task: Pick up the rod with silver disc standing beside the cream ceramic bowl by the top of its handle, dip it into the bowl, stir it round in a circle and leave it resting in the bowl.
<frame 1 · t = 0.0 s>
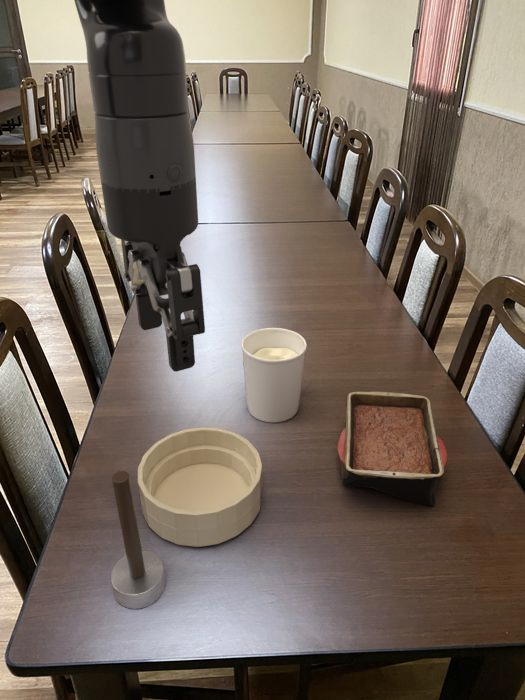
hand: (165, 346, 51), 26 cm above the table, tool pointing down, fingers open, 8 cm apart
white cup: (272, 408, 87), on the table
bowl: (202, 500, 70), on the table
baking dish: (387, 470, 75), on the table
rod with silver disc: (139, 585, 59), on the table
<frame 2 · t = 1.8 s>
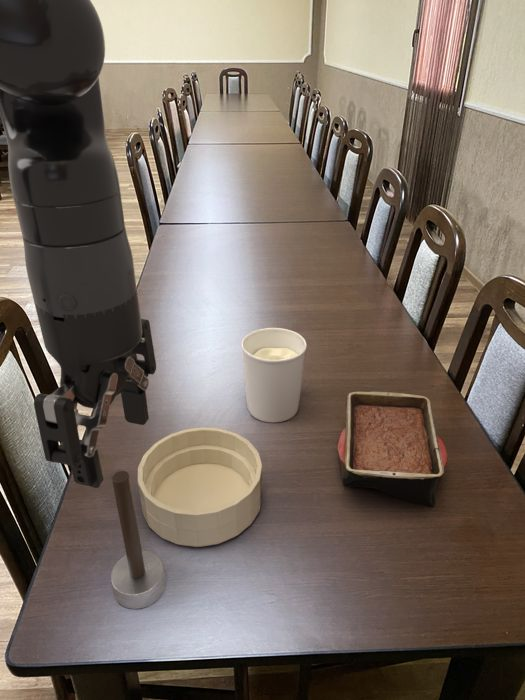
hand: (115, 450, 49), 20 cm above the table, tool pointing down, fingers open, 8 cm apart
nothing on the table moved.
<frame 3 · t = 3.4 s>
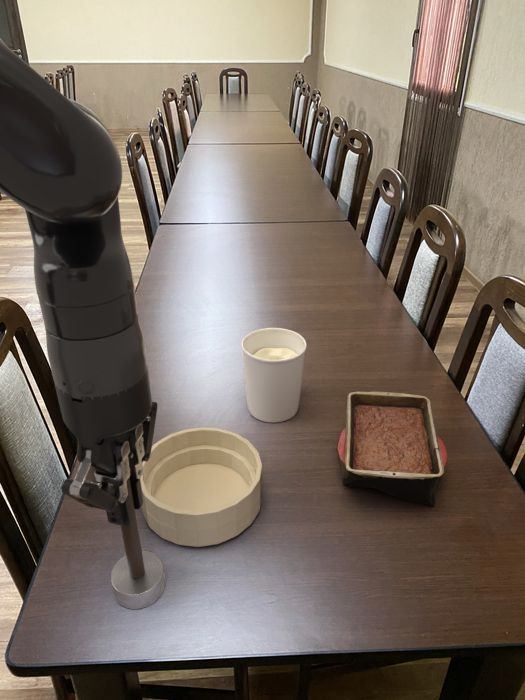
hand: (126, 513, 53), 11 cm above the table, tool pointing down, fingers closed on rod with silver disc
rod with silver disc: (139, 585, 59), on the table, touching gripper
everything else where it was.
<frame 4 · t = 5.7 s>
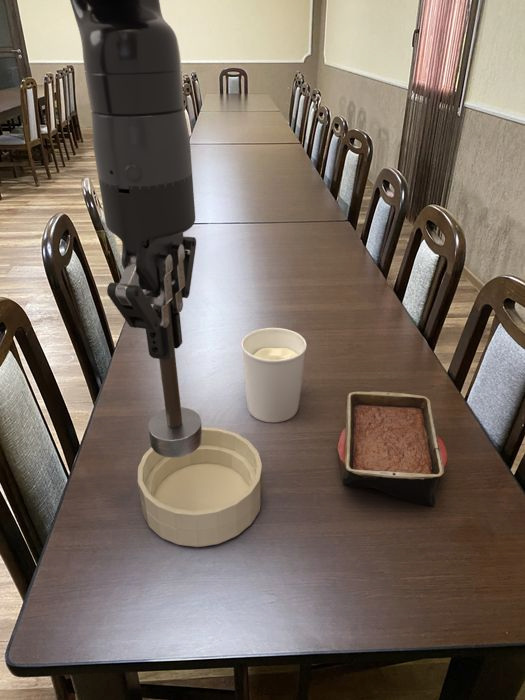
hand: (166, 351, 53), 26 cm above the table, tool pointing down, fingers closed on rod with silver disc
rod with silver disc: (176, 440, 59), point 14 cm above the table, touching gripper
everything else where it was.
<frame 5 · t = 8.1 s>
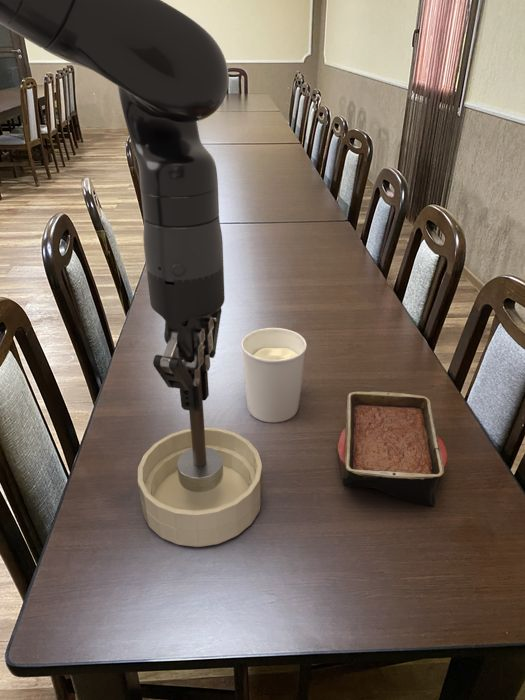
hand: (195, 403, 61), 16 cm above the table, tool pointing down, fingers closed on rod with silver disc
rod with silver disc: (201, 476, 67), point 4 cm above the table, touching gripper
everything else where it was.
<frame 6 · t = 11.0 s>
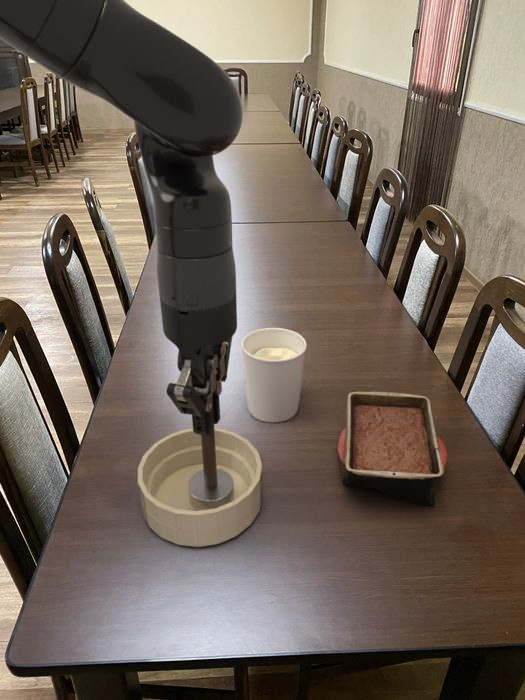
hand: (206, 426, 62), 13 cm above the table, tool pointing down, fingers closed on rod with silver disc
rod with silver disc: (211, 497, 68), point 2 cm above the table, touching gripper
everything else where it was.
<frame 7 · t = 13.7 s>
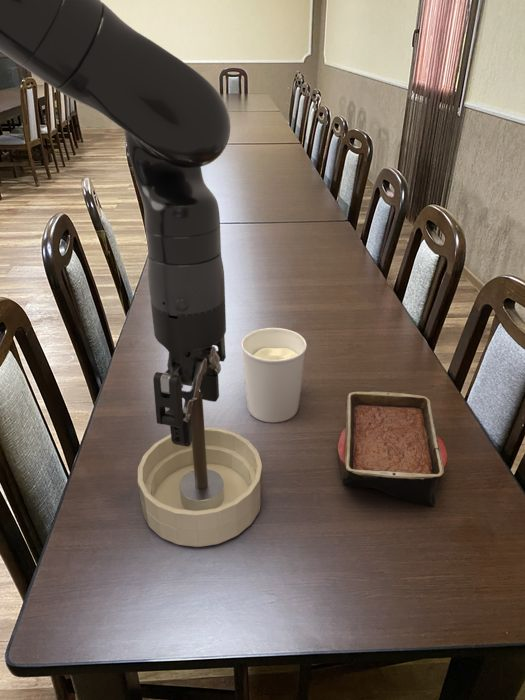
hand: (196, 420, 63), 13 cm above the table, tool pointing down, fingers open, 8 cm apart
rod with silver disc: (202, 497, 69), point 1 cm above the table, touching bowl
everything else where it was.
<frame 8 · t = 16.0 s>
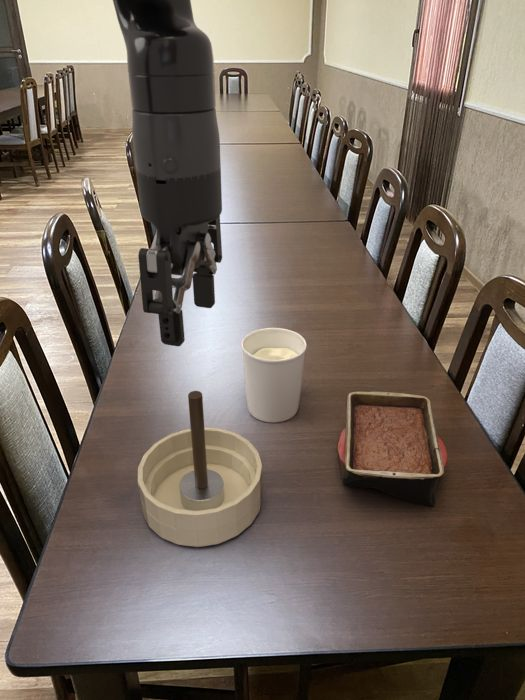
hand: (189, 323, 56), 26 cm above the table, tool pointing down, fingers open, 8 cm apart
nothing on the table moved.
at the end: rod with silver disc inside the target area in the bowl (0.0 cm from its centre), point 0.6 cm above the bowl's base; rod with silver disc moved 13.6 cm from its start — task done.
